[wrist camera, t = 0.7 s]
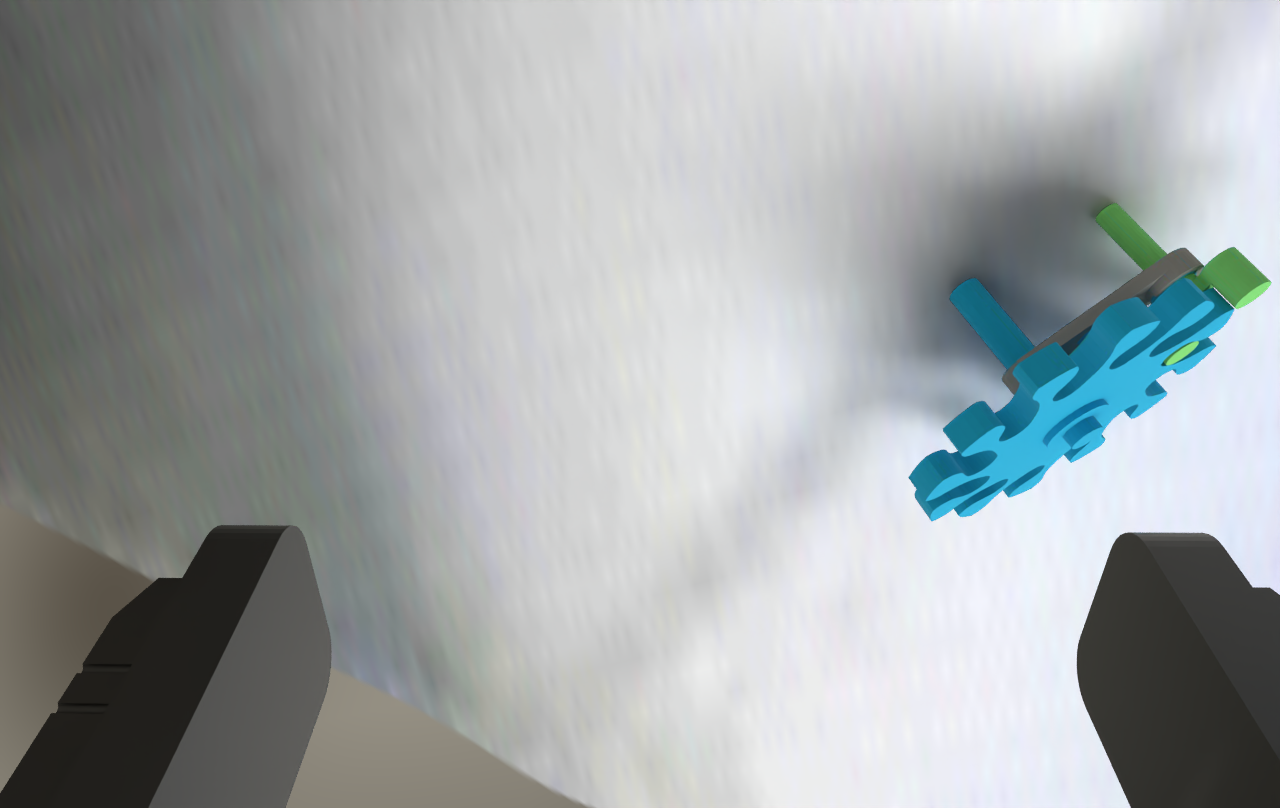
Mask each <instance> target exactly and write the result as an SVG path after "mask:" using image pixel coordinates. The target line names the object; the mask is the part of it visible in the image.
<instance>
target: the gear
mask: <svg viewBox="0 0 1280 808" xmlns="http://www.w3.org/2000/svg"><path fill="white" fill-rule="evenodd" d="M1096 222H1097V223H1098V224H1099V225H1100V226H1101V227H1102V228H1103V229H1104V230H1105V231H1106V232H1107V233H1108V234H1109V235H1110V236H1111V238H1112V239H1113V240H1114V241H1115V242H1116V243H1117V244H1118V245H1119V246H1120V247H1121V248H1122V249H1123V250H1124V251H1125V252H1126V253H1127V254H1128V255H1129V256H1130V257H1131V258H1132V259H1133V260H1134V261H1135V262H1136V263H1137V264H1138V265H1139V266H1140V268H1141V269H1142V270H1143V272H1141V273H1140V274H1138V275H1137V276H1136V277H1134V278H1133V279H1131V280H1130V281H1128V282H1127V283H1126V284H1124V285H1123V286H1121V287H1120V288H1119V289H1117V290H1116V291H1114V292H1113V293H1112V294H1110V295H1109V296H1107V297H1106V298H1104V299H1103V300H1102V301H1100V302H1099V303H1097V304H1096V305H1095V306H1093V307H1092V308H1090V309H1089V310H1087V311H1086V312H1085V313H1083V314H1082V315H1080V316H1079V317H1078V318H1076V319H1075V320H1073V321H1072V322H1070V323H1069V324H1068V325H1066V326H1065V327H1063V328H1062V329H1061V330H1059V331H1058V332H1056V333H1055V334H1054V335H1052V336H1051V337H1049V338H1048V339H1046V340H1045V341H1044V342H1042V343H1041V344H1039V345H1038V346H1037V347H1035V346H1034V345H1033V344H1032V343H1031V342H1030V341H1029V339H1028V338H1027V337H1026V336H1025V335H1024V334H1023V332H1022V331H1021V330H1020V329H1019V328H1018V326H1017V325H1016V324H1015V323H1014V322H1013V321H1012V319H1011V318H1010V317H1009V316H1008V315H1007V314H1006V312H1005V311H1004V310H1003V309H1002V308H1001V306H1000V305H999V304H998V303H997V302H996V301H995V299H994V298H993V297H992V296H991V295H990V294H989V292H988V291H987V290H986V289H985V288H984V286H983V285H982V284H981V283H980V282H979V281H978V279H976V278H972V279H969V280H967V281H965V282H963V283H962V284H960V285H959V286H958V287H957V288H956V289H955V290H954V291H953V292H952V293H951V295H950V301H951V302H952V303H953V304H954V306H955V307H956V308H957V309H958V310H959V312H960V313H961V314H962V315H963V316H964V318H965V319H966V320H967V321H968V323H969V324H970V325H971V326H972V327H973V329H974V330H975V331H976V332H977V334H978V335H979V336H980V337H981V338H982V340H983V341H984V342H985V343H986V344H987V346H988V347H989V348H990V349H991V351H992V352H993V353H994V354H995V355H996V357H997V358H998V359H999V360H1000V362H1001V363H1002V364H1003V365H1004V366H1005V368H1006V369H1007V371H1006V372H1005V373H1004V375H1003V377H1002V381H1003V382H1004V383H1005V385H1006V386H1007V387H1008V388H1009V389H1010V391H1011V392H1012V393H1013V394H1014V397H1013V398H1012V400H1011V401H1010V402H1009V403H1008V404H1007V405H1006V406H1005V407H1004V408H1002V409H1001V410H1000V411H998V412H996V413H995V414H994V412H993V411H992V410H991V409H990V407H989V406H988V405H987V404H986V402H984V401H980V402H976V403H975V404H973V405H972V406H970V407H969V408H967V409H966V410H965V411H963V412H962V413H961V414H960V415H958V416H957V417H956V418H955V419H954V420H952V421H951V422H950V423H949V424H948V425H947V426H946V427H945V428H943V431H944V433H945V434H946V435H947V437H948V438H949V439H950V441H951V442H952V443H953V445H954V446H955V447H956V449H957V450H958V451H957V452H955V453H948V452H947V451H946V450H940V451H937V452H934V453H932V454H930V455H928V456H926V457H925V458H924V459H923V460H922V461H921V462H920V463H919V464H918V465H917V467H916V468H915V469H914V470H913V472H912V473H911V475H910V476H909V479H910V480H911V482H912V483H913V485H914V486H915V487H916V489H917V490H916V492H915V498H916V500H917V501H918V503H919V504H920V506H921V507H922V508H923V510H924V511H925V513H926V514H927V515H928V517H929V518H930V520H931V521H934V520H936V519H938V518H940V517H942V516H944V515H945V514H947V513H948V512H950V511H951V510H952V509H954V510H955V511H956V512H957V514H958V515H959V516H960V517H966V516H971V515H973V514H975V513H976V512H978V511H979V510H981V509H982V508H983V507H985V506H986V505H987V504H988V503H989V502H990V501H991V500H992V499H993V498H994V497H995V496H996V495H997V494H999V493H1000V492H1001V491H1002V490H1003V491H1004V492H1005V494H1006V495H1007V496H1008V497H1012V496H1015V495H1018V494H1020V493H1022V492H1025V491H1027V490H1029V489H1031V488H1032V487H1034V486H1035V485H1036V484H1037V483H1039V482H1040V481H1041V479H1042V478H1043V476H1044V474H1045V473H1046V471H1047V470H1048V469H1049V468H1050V467H1051V466H1052V465H1053V464H1054V463H1055V462H1056V461H1057V460H1058V459H1059V458H1060V457H1062V456H1063V455H1065V456H1066V458H1067V459H1068V460H1069V461H1070V462H1071V463H1072V462H1074V461H1076V460H1078V459H1080V458H1081V457H1083V456H1085V455H1087V454H1088V453H1090V452H1091V451H1093V450H1095V449H1096V448H1098V447H1099V446H1101V445H1102V444H1103V443H1104V441H1105V438H1104V437H1103V435H1102V432H1103V431H1104V429H1105V428H1106V426H1107V425H1108V424H1109V423H1110V422H1111V420H1112V419H1113V418H1115V417H1116V416H1117V415H1118V414H1120V413H1121V412H1122V411H1125V413H1126V414H1127V415H1128V416H1129V417H1130V418H1131V419H1132V418H1136V417H1138V416H1139V415H1141V414H1142V413H1144V412H1145V411H1146V410H1148V409H1149V408H1151V407H1152V406H1153V405H1155V404H1156V403H1157V402H1159V401H1160V400H1161V399H1163V398H1164V397H1165V396H1166V395H1167V392H1166V391H1165V390H1164V389H1163V388H1162V386H1161V385H1160V384H1159V383H1158V382H1157V381H1156V379H1157V378H1159V377H1160V376H1162V375H1163V374H1165V373H1167V372H1169V371H1171V370H1173V371H1174V372H1175V373H1176V374H1182V373H1184V372H1186V371H1188V370H1190V369H1192V368H1193V367H1194V366H1195V365H1197V364H1198V363H1199V362H1200V361H1201V360H1202V359H1204V358H1205V357H1206V356H1207V355H1208V354H1209V353H1210V352H1211V351H1212V350H1213V349H1214V348H1215V347H1216V345H1215V344H1214V343H1213V342H1212V341H1211V340H1210V339H1209V338H1208V337H1209V336H1211V335H1212V334H1214V333H1215V332H1217V331H1218V330H1220V329H1221V328H1222V327H1223V326H1224V325H1225V324H1226V323H1227V321H1228V320H1229V319H1230V317H1231V315H1232V313H1233V311H1234V308H1233V307H1232V306H1231V305H1230V304H1229V303H1228V302H1227V301H1226V300H1225V299H1224V298H1223V297H1222V296H1221V295H1220V294H1219V293H1218V292H1217V291H1216V290H1215V289H1214V288H1213V287H1215V288H1216V289H1217V290H1218V291H1219V292H1220V293H1221V294H1222V295H1223V296H1224V297H1225V298H1226V299H1227V300H1228V301H1229V302H1230V303H1231V304H1232V305H1233V306H1234V307H1235V308H1236V309H1238V308H1241V307H1243V306H1245V305H1247V304H1249V303H1250V302H1252V301H1253V300H1255V299H1256V298H1257V297H1259V296H1260V295H1261V294H1262V293H1263V292H1264V291H1266V290H1267V288H1268V287H1269V286H1270V285H1271V281H1269V280H1268V279H1267V278H1266V277H1265V276H1264V275H1263V274H1262V273H1261V272H1260V271H1259V270H1258V269H1257V268H1256V267H1255V266H1254V265H1253V264H1252V263H1251V262H1250V261H1249V260H1248V259H1247V258H1245V257H1244V256H1243V255H1242V254H1241V253H1240V252H1239V251H1238V250H1237V249H1236V248H1235V247H1231V248H1229V249H1227V250H1225V251H1223V252H1221V253H1220V254H1218V255H1217V256H1216V257H1214V258H1213V259H1212V260H1211V261H1210V262H1209V263H1208V264H1207V265H1206V266H1205V267H1204V265H1203V264H1202V263H1201V262H1200V261H1198V260H1197V259H1196V258H1195V257H1194V256H1193V255H1192V254H1191V253H1190V252H1189V251H1188V250H1187V249H1186V248H1180V249H1177V250H1175V251H1173V252H1171V253H1169V254H1166V253H1165V252H1164V251H1163V250H1162V248H1161V247H1160V246H1159V245H1158V244H1157V243H1156V242H1155V241H1154V240H1153V239H1152V238H1151V237H1150V236H1149V235H1148V234H1147V233H1146V232H1145V231H1144V230H1143V229H1142V228H1141V227H1140V226H1139V225H1138V224H1137V223H1136V222H1135V221H1134V220H1133V219H1132V218H1131V217H1130V216H1129V215H1128V214H1127V213H1126V212H1125V211H1124V210H1123V209H1122V208H1121V207H1120V206H1119V205H1118V204H1117V203H1113V204H1111V205H1109V206H1107V207H1106V208H1104V209H1103V210H1102V211H1101V212H1100V213H1099V214H1098V215H1097V217H1096ZM1150 303H1151V305H1150V306H1149V307H1147V305H1149V304H1150Z"/></svg>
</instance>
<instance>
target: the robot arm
mask: <svg viewBox="0 0 1280 808" xmlns="http://www.w3.org/2000/svg"><path fill="white" fill-rule="evenodd" d="M330 669H331V638H330V632H329V628H328V624H327V620H326V616H325V612H324V609H323V605H322V601H321V597H320V593H319V589H318V586H317V582H316V578H315V574H314V570H313V567H312V563H311V559H310V555H309V551H308V547H307V544H306V540H305V537H304V535H303V533H302V531H301V530H300V529H299V528H298V527H296V526H269V525H221V526H217V527H215V528H214V529H213V530H212V531H211V532H210V533H209V534H208V535H207V537H206V538H205V540H204V542H203V543H202V545H201V547H200V549H199V550H198V552H197V554H196V555H195V557H194V559H193V561H192V562H191V564H190V566H189V568H188V569H187V571H186V573H185V574H184V576H183V578H158V579H157V580H156V581H155V582H153V583H152V584H151V585H150V586H149V587H148V588H146V589H145V590H144V591H143V592H142V593H140V594H139V595H138V596H137V597H136V598H135V599H133V600H132V601H131V602H130V603H129V604H127V605H126V606H125V607H124V608H123V609H122V610H120V611H119V612H118V613H117V614H116V615H115V616H113V617H112V619H111V620H110V622H109V623H108V625H107V626H106V628H105V630H104V631H103V633H102V634H101V636H100V637H99V639H98V641H97V642H96V644H95V646H94V647H93V648H92V650H91V652H90V653H89V655H88V656H87V658H86V660H85V661H84V663H83V671H82V673H77V674H76V675H75V677H74V678H73V680H72V681H71V683H70V685H69V686H68V688H67V689H66V691H65V692H64V694H63V696H62V697H61V699H60V700H59V702H58V710H57V712H56V713H51V714H50V716H49V718H48V719H47V721H46V722H45V724H44V725H43V727H42V729H41V730H40V732H39V733H38V735H37V736H36V738H35V740H34V741H33V743H32V744H31V746H30V748H29V749H28V751H27V752H26V754H25V756H24V757H23V758H22V760H21V762H20V763H19V765H18V767H17V768H16V770H15V771H14V773H13V774H12V776H11V777H10V779H9V781H8V782H7V784H6V785H5V787H4V788H3V790H2V791H1V793H0V808H286V805H287V802H288V799H289V796H290V794H291V791H292V788H293V785H294V782H295V779H296V777H297V774H298V771H299V768H300V765H301V763H302V759H303V757H304V754H305V751H306V749H307V746H308V743H309V740H310V737H311V734H312V732H313V728H314V726H315V723H316V720H317V717H318V715H319V712H320V709H321V706H322V703H323V701H324V698H325V695H326V691H327V687H328V683H329V677H330ZM1077 675H1078V682H1079V687H1080V692H1081V695H1082V698H1083V702H1084V704H1085V707H1086V709H1087V711H1088V713H1089V716H1090V718H1091V720H1092V722H1093V724H1094V727H1095V729H1096V731H1097V733H1098V736H1099V738H1100V740H1101V742H1102V744H1103V747H1104V749H1105V751H1106V753H1107V755H1108V758H1109V760H1110V762H1111V764H1112V767H1113V769H1114V771H1115V773H1116V775H1117V778H1118V780H1119V782H1120V784H1121V787H1122V789H1123V791H1124V793H1125V795H1126V798H1127V800H1128V802H1129V804H1130V806H1131V808H1280V595H1279V594H1278V593H1276V592H1275V591H1274V590H1272V589H1271V588H1253V587H1252V586H1251V585H1250V583H1249V582H1248V580H1247V579H1246V578H1245V576H1244V575H1243V573H1242V572H1241V571H1240V569H1239V568H1238V566H1237V565H1236V564H1235V562H1234V561H1233V560H1232V558H1231V557H1230V555H1229V554H1228V553H1227V551H1226V550H1225V548H1224V547H1223V546H1222V545H1221V543H1220V542H1219V541H1218V540H1217V539H1215V538H1214V537H1213V536H1211V535H1209V534H1205V533H1124V534H1122V535H1120V536H1119V537H1118V538H1117V539H1116V541H1115V542H1114V544H1113V546H1112V548H1111V551H1110V554H1109V557H1108V559H1107V562H1106V565H1105V568H1104V571H1103V574H1102V577H1101V579H1100V582H1099V585H1098V588H1097V591H1096V594H1095V597H1094V599H1093V602H1092V605H1091V608H1090V611H1089V614H1088V617H1087V619H1086V622H1085V625H1084V628H1083V631H1082V634H1081V637H1080V640H1079V644H1078V650H1077Z"/></svg>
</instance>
